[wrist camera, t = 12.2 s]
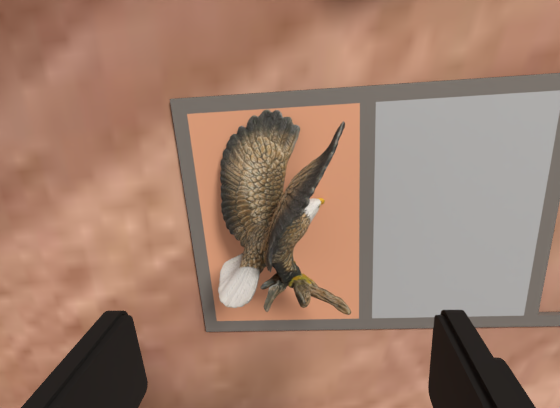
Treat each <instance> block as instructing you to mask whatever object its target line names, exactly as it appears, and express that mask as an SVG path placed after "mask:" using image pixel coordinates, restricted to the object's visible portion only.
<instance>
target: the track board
mask: <svg viewBox="0 0 560 408" xmlns="http://www.w3.org/2000/svg"><path fill="white" fill-rule="evenodd" d="M170 104H171V110H172V117H173V123H174V129H175V136H176V142H177V148H178V155H179V161H180V168H181V174H182V180H183V187H184V193H185V199H186V206H187V212H188V218H189V225H190V231H191V238H192V244H193V250H194V257H195V263H196V269H197V276H198V282H199V288H200V295H201V301H202V308H203V314H204V320H205V327H206V332H219V331H282V330H345V329H408V328H433V327H434V317H435V315H440V314H441V311H442V310H464V312H465V313H466V314H467V316H468V318H469V319H470V321H471V322H472V324H473V326H474V327H534V326H560V312H539V307H540V301H541V296H542V291H543V286H544V280H545V275H546V270H547V265H548V259H549V254H550V249H551V243H552V238H553V233H554V228H555V222H556V217H557V212H558V207H559V201H560V73H552V74H537V75H522V76H507V77H492V78H477V79H462V80H447V81H432V82H417V83H402V84H387V85H372V86H357V87H342V88H327V89H312V90H297V91H282V92H267V93H252V94H237V95H222V96H207V97H192V98H177V99H170ZM266 109H268V110H270V111H271V112H273V111H275V110H279V111H280V112H281V113H282V116H283V117H291V119H292V122H293V124H294V125H298V126H299V127H300V132H299V137H298V139H297V142H296V144H295V147H294V150H293V152H292V154H291V156H290V158H289V160H288V163H287V168H286V175H285V182H284V188H283V192H284V191H285V190H286V188H287V187H288V185H289V183H290V182H291V180H292V179H293V178H294V176H295V175H296V174H298V173H299V172H300V171H301V170H302V169H303V168H304V167H305V166H307V165H308V164H309V163H310V162H312V161H313V160H314V159H316V158H318V157H319V156H320V155H321V154H322V153H323V152H324V151H325V150H326V149H327V148H328V146H329V145H330V143H331V141H332V139H333V137H334V135H335V132H336V131H337V129H338V127H339V126H340V124H341V123H342V122H343V121H344V122H345V128H344V129H343V132H342V135H341V136H340V139H339V141H338V146H337V148H336V151H335V153H334V155H333V157H332V159H331V161H330V163H329V165H328V167H327V168H326V171H325V172H324V175H323V177H322V178H321V180H320V182H319V184H318V186H317V187H316V188H315V191H314V194H313V195H312V196H311V197H310V199H312V198H322V199H324V200H325V202H324V204H321V205H320V208H319V210H318V212H317V214H316V215H315V217H314V218H313V220H312V221H311V223H310V225H309V227H308V230H307V231H306V233H305V234H304V236H303V237H302V238H301V239H300V241H298V242H297V243H296V245H295V247H294V250H293V258H294V261H295V262H296V265H297V266H298V267H299V269H300V271H301V273H302V274H305V275H306V276H307V277H309V278H310V279H312V280H313V281H314V282H315V283H316V284H317V285H318V287H320V288H323V289H326V290H328V291H329V292H331V293H332V294H334V295H335V296H337V297H340V298H342V299H343V301H344V302H345V303H346V304H347V305H348V307H349V308H350V310H351V314H350V315H346V314H343V313H342V312H340V311H338V310H337V309H336V308H335V307H334V306H333V305H331V304H329V303H327V302H324V301H322V300H319V299H317V298H314V297H311V300H310V303H309V305H308V306H307V307H305V308H303V307H300V305H299V302H298V300H297V298H296V295H295V292H294V289H293V288H290V287H289V286H287V287H286V289H285V290H284V291H283V292H281V293H280V294H279V295H278V296H277V297H276V298H275V299H274V301H273V303H272V305H271V307H270V310H269V311H268V312H266V311H265V310H264V303H265V300H266V298H267V295H268V289H269V288H267V289H263V290H262V289H260V287H261V285H262V284H263V283H264V282H266V281H267V280H269V279H270V278H271V277H272V276H273V275H274V274H276V273H277V272H276V270H275V268H274V267H272V270H271V272H270V271H268V270H267V267H265V268H264V269H263V271H262V272H261V273H260V275H259V280H258V285H257V288H256V291H255V294H254V296H253V298H252V299H251V301H250V302H249V303H248V304H245V305H244V306H243V307H237V308H231V307H226V306H225V305H224V304H223V303H221V302H220V299H219V292H218V287H219V283H220V280H219V279H220V271H221V269H222V266H223V265H224V263H225V262H226V261H228V260H230V259H232V258H234V257H236V256H238V255H240V254H242V253H243V252H244V247H243V246H241V244H240V241H238V240H236V238H235V236H234V235H231V234H230V232H229V230H228V229H227V228H226V223H225V221H224V219H223V214H222V212H221V203H222V199H221V185H222V183H221V181H220V176H221V175H220V172H221V166H220V162H221V160H222V158H223V155H222V154H223V151H224V150H225V149H226V144H227V142H228V141H229V139H230V136H231V135H233V134H236V133H237V131H238V128H239V127H240V126H244V127H246V126H247V122H248V120H249V119H250V117H252V116H253V115H256V116H257V117H258V116H260V114H261V113H262V112H263V111H264V110H266Z"/></svg>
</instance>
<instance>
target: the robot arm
mask: <svg viewBox="0 0 560 408" xmlns="http://www.w3.org/2000/svg"><path fill="white" fill-rule="evenodd" d="M146 390H147V377H146V373H145V369H144V364H143V360H142V356H141V352H140V347H139V343H138V339H137V335H136V330H135V326H134V322H133V318H132V317H131V316H130V315H128V314H127V312H126V311H106V312H105V313H103V314H102V316H101V317H100V318H99V319H98V320H97V321H96V322H95V324H94V325H93V326H92V327H91V328H90V329H89V331H88V332H87V333H86V334H85V335H84V336H83V337H82V339H81V340H80V341H79V342H78V343H77V344H76V345H75V347H74V348H73V349H72V350H71V351H70V352H69V353H68V355H67V356H66V357H65V358H64V359H63V360H62V361H61V363H60V364H59V365H58V366H57V367H56V368H55V369H54V371H53V372H52V373H51V374H50V375H49V376H48V377H47V379H46V380H45V381H44V382H43V383H42V384H41V385H40V387H39V388H38V389H37V390H36V391H35V392H34V393H33V395H32V396H31V397H30V398H29V399H28V400H27V401H26V403H25V404H24V405H23V406H22V407H21V408H138V406H139V405H140V403H141V401H142V399H143V397H144V395H145V393H146ZM429 396H430V400H431V403H432V405H433V408H536V407H535V406H534V404H533V403H532V401H531V400H530V398H529V397H528V395H527V394H526V392H525V391H524V389H523V388H522V386H521V385H520V383H519V382H518V380H517V379H516V377H515V376H514V374H513V373H512V371H511V369H510V368H509V366H508V365H507V364H506V362H505V361H504V360H503V359H501V358H494V357H493V356H492V354H491V353H490V351H489V349H488V348H487V346H486V345H485V343H484V341H483V340H482V338H481V337H480V335H479V334H478V332H477V330H476V329H475V327H474V326H473V324H472V322H471V321H470V319H469V318H468V316H467V314H466V313H465V312H464V310H442V311H441V314H440V315H435V317H434V327H433V338H432V350H431V362H430V374H429Z"/></svg>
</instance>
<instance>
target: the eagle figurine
mask: <svg viewBox="0 0 560 408" xmlns="http://www.w3.org/2000/svg"><path fill="white" fill-rule="evenodd" d="M344 128H345V122H344V121H343V122H342V123H341V124H340V126H339V127H338V129H337V131H336V132H335V135H334V137H333V139H332V141H331V143H330V145H329V146H328V148H327V149H326V150H325V151H324V152H323V153H322V154H321V155H320V156H319V157H318V158H316V159H314V160H313V161H312V162H310V163H309V164H308V165H307V166H305V167H304V168H303V169H302V170H301V171H300V172H299V173H298V174H296V175H295V176H294V178H293V179H292V180H291V182H290V183H289V185H288V187H287V188H286V190H285V191H284V192H283V188H284V182H285V175H286V168H287V163H288V160H289V158H290V156H291V154H292V152H293V150H294V147H295V144H296V142H297V139H298V137H299V132H300V127H299V126H298V125H294V124H293V122H292V119H291V117H283V116H282V113H281V112H280V111H279V110H275V111H273V112H271V111H270V110H268V109H266V110H264V111H263V112H262V113H261V114H260V116H258V117H257V116H256V115H253V116H252V117H250V119H249V120H248V122H247V126H246V127H244V126H240V127H239V128H238V131H237V133H236V134H233V135H231V136H230V139H229V141H228V142H227V144H226V149H225V150H224V151H223V154H222V155H223V158H222V160H221V162H220V166H221V172H220V175H221V176H220V181H221V183H222V185H221V199H222V203H221V212H222V214H223V219H224V221H225V223H226V228H227V229H228V230H229V232H230V234H231V235H234V236H235V238H236V240H238V241H240V244H241V246H243V247H244V252H243V253H242V254H240V255H238V256H236V257H234V258H232V259H230V260H228V261H226V262H225V263H224V265H223V266H222V269H221V271H220V279H219V280H220V283H219V287H218V292H219V299H220V302H221V303H223V304H224V305H225V306H226V307H231V308H237V307H243V306H244V305H245V304H248V303H249V302H250V301H251V299H252V298H253V296H254V294H255V291H256V288H257V285H258V280H259V275H260V273H261V272H262V271H263V269H264V268H265V267H267V270H268V271H270V272H271V270H272V267H274V268H275V270H276V272H277V273H276V274H274V275H273V276H272V277H271V278H270V279H269V280H267V281H266V282H264V283H263V284H262V285H261V287H260V289H262V290H263V289H267V288H269V289H268V295H267V298H266V300H265V303H264V310H265V311H266V312H268V311H269V310H270V307H271V305H272V303H273V301H274V299H275V298H276V297H277V296H278V295H279V294H280V293H281V292H283V291H284V290H285V289H286V287H287V286H289V287H290V288H293V289H294V292H295V295H296V298H297V300H298V302H299V305H300V307H303V308H305V307H307V306H308V305H309V303H310V300H311V297H314V298H317V299H319V300H322V301H324V302H327V303H329V304H331V305H333V306H334V307H335V308H336V309H337V310H338V311H340V312H342V313H343V314H346V315H350V314H351V310H350V308H349V307H348V305H347V304H346V303H345V302H344V301H343V299H342V298H340V297H337V296H335V295H334V294H332V293H331V292H329V291H328V290H326V289H323V288H320V287H318V285H317V284H316V283H315V282H314V281H313V280H312V279H310V278H309V277H307V276H306V275H305V274H302V273H301V271H300V269H299V267H298V266H297V265H296V262H295V261H294V258H293V250H294V247H295V245H296V243H297V242H298V241H300V239H301V238H302V237H303V236H304V234H305V233H306V231H307V230H308V227H309V225H310V223H311V221H312V220H313V218H314V217H315V215H316V214H317V212H318V210H319V208H320V205H321V204H324V202H325V200H324V199H322V198H312V199H310V197H311V196H312V195H313V194H314V191H315V188H316V187H317V186H318V184H319V182H320V180H321V178H322V177H323V175H324V172H325V171H326V168H327V167H328V165H329V163H330V161H331V159H332V157H333V155H334V153H335V151H336V148H337V146H338V141H339V139H340V136H341V135H342V132H343V129H344Z"/></svg>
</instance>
